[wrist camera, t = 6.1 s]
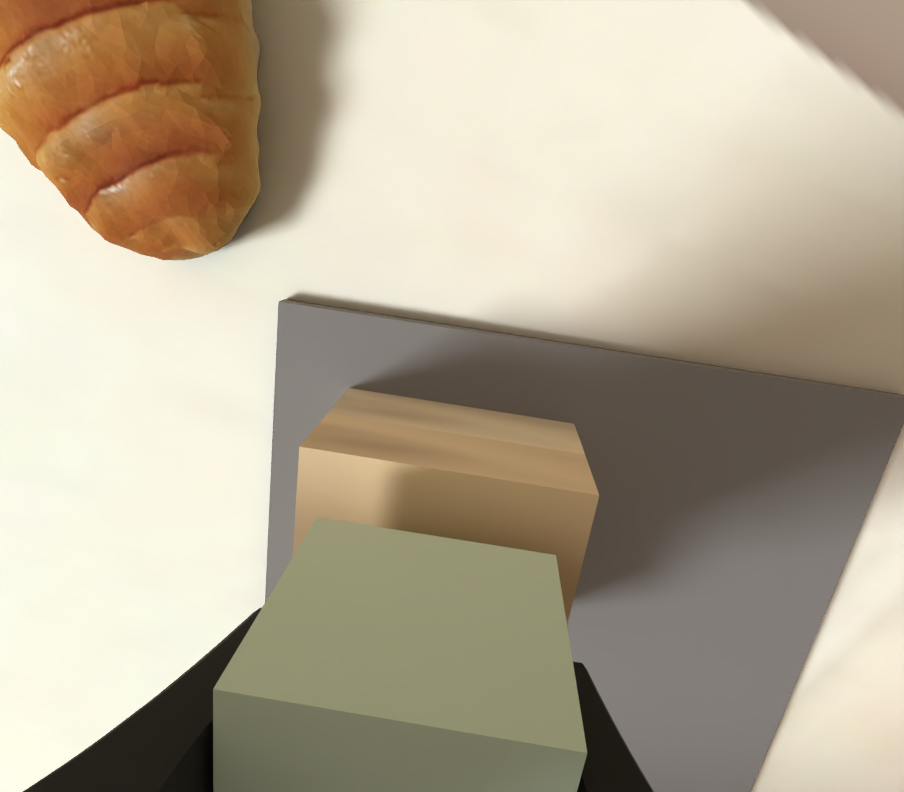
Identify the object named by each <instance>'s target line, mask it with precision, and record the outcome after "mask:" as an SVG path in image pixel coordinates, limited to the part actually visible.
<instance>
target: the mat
mask: <svg viewBox="0 0 904 792" xmlns="http://www.w3.org/2000/svg"><path fill="white" fill-rule="evenodd" d="M349 388H353V389H359V390H365V391H371V392H378V393H384V394H390V395H397V396H403V397H409V398H416V399H422V400H428V401H434V402H441V403H447V404H453V405H460V406H466V407H472V408H479V409H485V410H491V411H497V412H504V413H510V414H516V415H523V416H529V417H535V418H541V419H548V420H554V421H560V422H567V423H573V424H574V425H575V427H576V430H577V433H578V436H579V439H580V442H581V444H582V447H583V450H584V453H585V456H586V459H587V462H588V464H589V467H590V470H591V473H592V476H593V479H594V481H595V484H596V487H597V490H598V493H599V499H598V503H597V507H596V511H595V515H594V519H593V523H592V527H591V531H590V535H589V539H588V543H587V547H586V551H585V555H584V560H583V564H582V568H581V572H580V576H579V580H578V584H577V588H576V592H575V596H574V600H573V604H572V608H571V612H570V616H569V620H568V624H567V628H568V634H569V641H570V647H571V653H572V659H573V662H579V663H583V665H584V666H585V667H586V669H587V671H588V673H589V675H590V677H591V679H592V681H593V683H594V685H595V687H596V689H597V691H598V693H599V694H600V696H601V698H602V700H603V702H604V704H605V706H606V708H607V710H608V712H609V714H610V716H611V717H612V719H613V721H614V723H615V725H616V727H617V729H618V730H619V732H620V734H621V736H622V738H623V740H624V741H625V743H626V745H627V747H628V748H629V750H630V752H631V754H632V756H633V757H634V759H635V761H636V762H637V764H638V766H639V767H640V769H641V771H642V773H643V774H644V776H645V778H646V779H647V781H648V783H649V784H650V786H651V788H652V790H653V791H654V792H751V789H752V787H753V784H754V782H755V780H756V777H757V775H758V772H759V770H760V768H761V765H762V763H763V760H764V758H765V756H766V753H767V751H768V748H769V746H770V743H771V741H772V739H773V736H774V734H775V731H776V729H777V727H778V724H779V722H780V719H781V717H782V715H783V712H784V710H785V707H786V705H787V703H788V700H789V698H790V695H791V693H792V691H793V688H794V686H795V683H796V681H797V679H798V676H799V674H800V671H801V669H802V667H803V664H804V662H805V659H806V657H807V655H808V652H809V650H810V647H811V645H812V643H813V640H814V638H815V635H816V633H817V631H818V628H819V626H820V623H821V621H822V619H823V616H824V614H825V611H826V609H827V606H828V604H829V602H830V599H831V597H832V594H833V592H834V590H835V587H836V585H837V582H838V580H839V578H840V575H841V573H842V570H843V568H844V566H845V563H846V561H847V558H848V556H849V554H850V551H851V549H852V546H853V544H854V542H855V539H856V537H857V534H858V532H859V530H860V527H861V525H862V522H863V520H864V518H865V515H866V513H867V510H868V508H869V506H870V503H871V501H872V498H873V496H874V494H875V491H876V489H877V486H878V484H879V482H880V479H881V477H882V474H883V472H884V469H885V467H886V465H887V462H888V460H889V457H890V455H891V453H892V450H893V448H894V445H895V443H896V441H897V438H898V436H899V433H900V431H901V429H902V426H903V424H904V395H899V394H893V393H887V392H880V391H874V390H867V389H861V388H854V387H848V386H841V385H835V384H828V383H822V382H815V381H809V380H802V379H796V378H789V377H783V376H776V375H770V374H764V373H757V372H751V371H744V370H738V369H731V368H725V367H718V366H712V365H705V364H699V363H692V362H686V361H679V360H673V359H666V358H660V357H653V356H647V355H641V354H634V353H628V352H621V351H615V350H608V349H602V348H595V347H589V346H582V345H576V344H569V343H563V342H556V341H550V340H543V339H537V338H530V337H524V336H518V335H511V334H505V333H498V332H492V331H485V330H479V329H472V328H466V327H459V326H453V325H446V324H440V323H433V322H427V321H420V320H414V319H407V318H401V317H395V316H388V315H382V314H375V313H369V312H362V311H356V310H349V309H343V308H336V307H330V306H323V305H317V304H310V303H304V302H297V301H291V300H285V299H284V300H282V301H279V306H278V328H277V350H276V372H275V395H274V417H273V439H272V461H271V484H270V506H269V528H268V550H267V572H266V595H265V602H266V601H267V599H268V597H269V596H270V594H271V592H272V591H273V589H274V587H275V586H276V584H277V582H278V581H279V579H280V577H281V576H282V574H283V572H284V571H285V569H286V568H287V566H288V564H289V563H290V561H291V559H292V558H293V542H294V525H295V509H296V493H297V476H298V460H299V446H300V445H301V444H302V443H303V442H304V440H305V439H306V438H307V437H308V436H309V435H310V433H311V432H312V431H313V430H314V429H315V428H316V426H317V425H318V424H319V423H320V422H321V420H322V419H323V418H324V417H325V416H326V415H327V413H328V412H329V411H330V410H331V409H332V408H333V406H334V405H335V404H336V403H337V402H338V400H339V399H340V398H341V397H342V396H343V395H344V393H345V392H346V391H347V390H348V389H349Z"/></svg>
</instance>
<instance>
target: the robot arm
mask: <svg viewBox="0 0 904 792" xmlns="http://www.w3.org/2000/svg"><path fill="white" fill-rule="evenodd" d="M261 609H262V608H260V609H258V610H257V611H255V612H254V613H253V614H251V615H250V616H249V617H248V618H247V619H246V620H245V621H244V622H242V623H241V624H240V625H239V626H238V627H237V628H236V629H235V630H234V631H232V632H231V633H230V634H229V635H228V636H227V637H226V638H225V639H224V640H222V641H221V642H220V643H219V644H218V645H217V646H216V647H214V648H213V649H212V650H211V651H210V652H209V653H208V654H206V655H205V656H204V657H203V658H202V659H201V660H199V661H198V662H197V663H196V664H195V665H194V666H192V667H191V668H190V669H189V670H187V671H186V672H185V673H184V674H183V675H181V676H180V677H179V678H178V679H177V680H175V681H174V682H173V683H172V684H171V685H169V686H168V687H167V688H166V689H165V690H163V691H162V692H161V693H160V694H158V695H157V696H156V697H155V698H153V699H152V700H151V701H150V702H148V703H147V704H146V705H144V706H143V707H142V708H140V709H139V710H138V711H136V712H135V713H134V714H133V715H131V716H130V717H129V718H127V719H126V720H125V721H123V722H122V723H121V724H119V725H118V726H117V727H115V728H114V729H113V730H111V731H110V732H109V733H107V734H106V735H105V736H104V737H102V738H101V739H99V740H98V741H97V742H95V743H94V744H92V745H91V746H90V747H88V748H87V749H85V750H84V751H83V752H81V753H80V754H78V755H77V756H76V757H74V758H73V759H71V760H70V761H68V762H67V763H65V764H64V765H62V766H61V767H60V768H58V769H57V770H55V771H54V772H52V773H51V774H49V775H48V776H46V777H44V778H43V779H41V780H40V781H38V782H37V783H35V784H34V785H32V786H31V787H29V788H28V789H26V790H25V791H23V792H213V689H214V687H215V685H216V684H217V682H218V680H219V679H220V677H221V675H222V674H223V672H224V670H225V669H226V667H227V665H228V664H229V662H230V660H231V659H232V657H233V655H234V654H235V652H236V650H237V649H238V647H239V645H240V644H241V642H242V640H243V639H244V637H245V635H246V634H247V632H248V631H249V629H250V627H251V626H252V624H253V622H254V621H255V619H256V617H257V616H258V614H259V612H260V611H261ZM573 666H574V672H575V678H576V685H577V691H578V697H579V704H580V710H581V716H582V722H583V729H584V735H585V741H586V748H587V756H586V760H585V764H584V767H583V771H582V775H581V779H580V782H579V786H578V790H577V792H654V791H653V790H652V788H651V786H650V784H649V783H648V781H647V779H646V778H645V776H644V774H643V773H642V771H641V769H640V767H639V766H638V764H637V762H636V761H635V759H634V757H633V756H632V754H631V752H630V750H629V748H628V747H627V745H626V743H625V741H624V740H623V738H622V736H621V734H620V732H619V730H618V729H617V727H616V725H615V723H614V721H613V719H612V717H611V716H610V714H609V712H608V710H607V708H606V706H605V704H604V702H603V700H602V698H601V696H600V694H599V693H598V691H597V689H596V687H595V685H594V683H593V681H592V679H591V677H590V675H589V673H588V671H587V669H586V667H585V666H584V665H583V663H579V662H573Z"/></svg>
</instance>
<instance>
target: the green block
mask: <svg viewBox="0 0 904 792" xmlns="http://www.w3.org/2000/svg"><path fill="white" fill-rule="evenodd" d="M586 756H587V748H586V741H585V735H584V729H583V722H582V716H581V710H580V704H579V697H578V691H577V685H576V678H575V672H574V666H573V659H572V653H571V647H570V641H569V634H568V628H567V622H566V615H565V609H564V603H563V597H562V590H561V584H560V578H559V571H558V565H557V559H556V555H553V554H546V553H540V552H534V551H527V550H521V549H515V548H508V547H502V546H496V545H490V544H483V543H477V542H471V541H464V540H458V539H452V538H445V537H439V536H433V535H426V534H420V533H414V532H408V531H401V530H395V529H389V528H382V527H376V526H370V525H363V524H357V523H351V522H344V521H338V520H332V519H326V518H319V517H317V518H316V519H315V521H314V523H313V524H312V526H311V528H310V529H309V531H308V533H307V534H306V536H305V538H304V539H303V541H302V543H301V544H300V546H299V548H298V549H297V551H296V553H295V554H294V556H293V558H292V559H291V561H290V563H289V564H288V566H287V568H286V569H285V571H284V572H283V574H282V576H281V577H280V579H279V581H278V582H277V584H276V586H275V587H274V589H273V591H272V592H271V594H270V596H269V597H268V599H267V601H266V602H265V604H264V606H263V607H262V609H261V611H260V612H259V614H258V616H257V617H256V619H255V621H254V622H253V624H252V626H251V627H250V629H249V631H248V632H247V634H246V635H245V637H244V639H243V640H242V642H241V644H240V645H239V647H238V649H237V650H236V652H235V654H234V655H233V657H232V659H231V660H230V662H229V664H228V665H227V667H226V669H225V670H224V672H223V674H222V675H221V677H220V679H219V680H218V682H217V684H216V685H215V687H214V689H213V792H577V790H578V786H579V782H580V779H581V775H582V771H583V767H584V764H585V760H586Z"/></svg>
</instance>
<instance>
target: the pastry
mask: <svg viewBox="0 0 904 792" xmlns="http://www.w3.org/2000/svg"><path fill="white" fill-rule="evenodd" d="M260 51H261V48H260V42H259V39H258V36H257V34H256V33H255V31H254V27H253V14H252V0H0V127H1V129H2V130H4V131H5V132H6V133H7V134H8V135H10V136H11V137H12V138H13V139H14V140H15V141H16V142H17V144H18V146H19V148H20V149H21V151H22V152H23V153H24V155H25V156H26V157H27V159H28V160H29V161H30V163H31V164H32V165H33V166H34V167H36V168H37V169H39V170H41V171H43V173H44V174H45V176H46V177H47V178H48V179H49V180H50V181H51V182H52V183H53V184H54V185H55V186H56V187H57V189H58V190H59V191H60V192H61V194H62V195H63V196H64V198H65V199H66V201H67V202H68V204H69V205H70V206H71V207H73V208H74V209H76V210H77V211H78V212H79V213H80V214H81V215H82V217H83V218H84V219H85V220H86V221H87V223H88V224H89V225H90V226H91V227H92V228H93V229H94V230H95V231H96V232H98V233H99V234H100V235H101V236H102V237H103V238H104V239H105V240H107V241H108V242H110V243H113V244H116V245H119V246H122V247H124V248H127V249H129V250H132V251H134V252H137V253H140V254H142V255H146V256H151V257H155V258H159V259H162V260H186V259H193V258H197V257H201V256H204V255H207V254H209V253H211V252H213V251H217V250H219V249H220V248H222V247H223V246H225V245H226V244H227V243H229V242H230V241H231V239H232V238H233V236H234V234H235V233H236V231H237V229H238V227H239V225H240V224H241V222H242V221H243V219H244V218H245V216H246V214H247V213H248V211H249V210H250V208H251V207H252V205H253V204H254V202H255V200H256V198H257V196H258V194H259V192H260V189H261V181H260V174H259V168H258V160H259V152H260V148H259V143H258V138H257V124H258V119H259V115H260V109H261V97H260V94H259V90H258V83H257V70H258V63H259V56H260Z"/></svg>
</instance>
